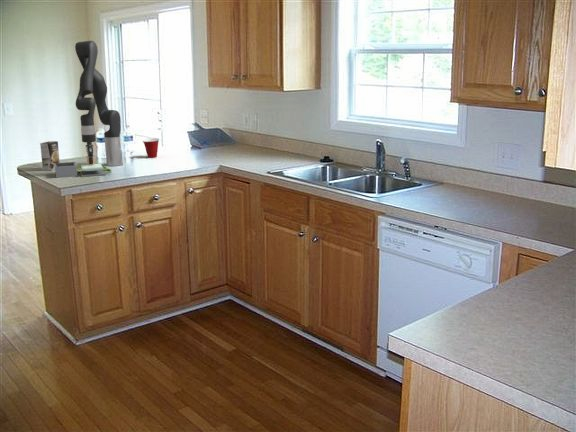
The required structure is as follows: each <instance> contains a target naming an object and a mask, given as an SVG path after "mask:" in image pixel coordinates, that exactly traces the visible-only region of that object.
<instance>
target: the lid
mask: <svg viewBox="0 0 576 432" xmlns="http://www.w3.org/2000/svg"><path fill="white" fill-rule="evenodd" d="M80 167H81V171H95V170H104V167H103V165H102V163H95V155H93V164H89V158H88V155H87V156H86V164H80Z"/></svg>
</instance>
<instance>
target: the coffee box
mask: <svg viewBox="0 0 576 432" xmlns="http://www.w3.org/2000/svg"><path fill="white" fill-rule="evenodd" d="M39 144H40V154H41V156H40V157H41V165H42V171H49V172H52V171H55V164H54V163H61V160H60V150H59V141H56V140H55V141H53V140H52V141H44V142H40V143H39Z"/></svg>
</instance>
